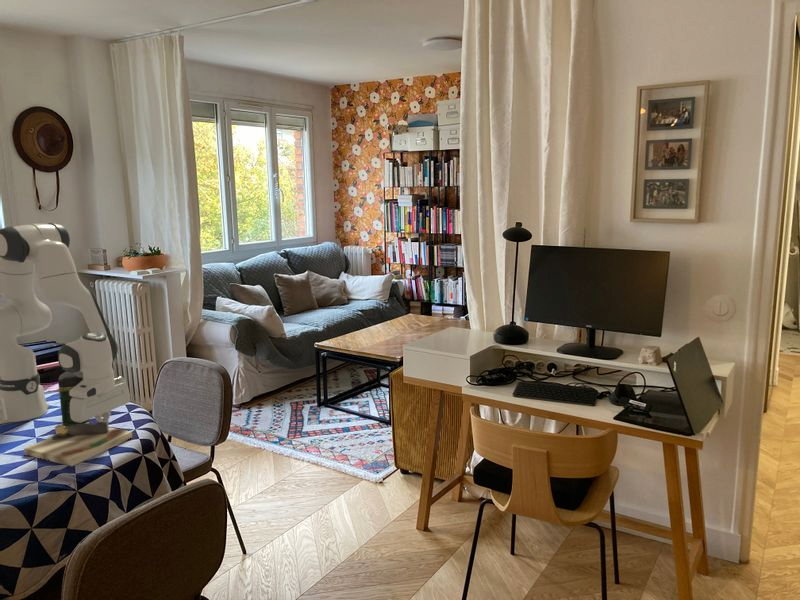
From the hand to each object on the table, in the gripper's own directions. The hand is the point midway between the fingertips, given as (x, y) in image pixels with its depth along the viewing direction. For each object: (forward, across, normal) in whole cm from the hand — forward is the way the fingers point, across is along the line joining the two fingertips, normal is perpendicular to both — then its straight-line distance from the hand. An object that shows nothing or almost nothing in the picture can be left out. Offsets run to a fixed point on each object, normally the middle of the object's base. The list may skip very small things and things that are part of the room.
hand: (103, 425), depth 199 cm
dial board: (+4, +8, -1) cm, 9 cm away
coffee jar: (+4, -3, -16) cm, 17 cm away
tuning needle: (+1, +5, -4) cm, 6 cm away
